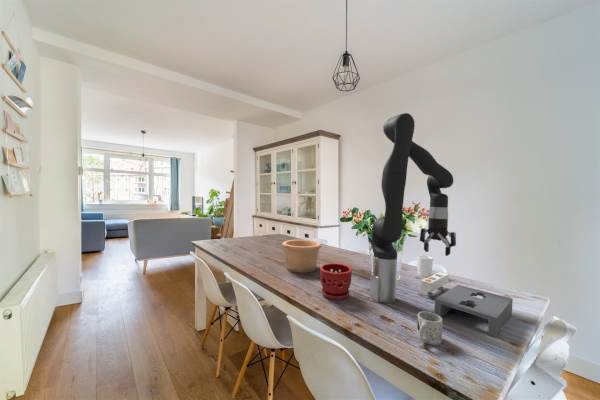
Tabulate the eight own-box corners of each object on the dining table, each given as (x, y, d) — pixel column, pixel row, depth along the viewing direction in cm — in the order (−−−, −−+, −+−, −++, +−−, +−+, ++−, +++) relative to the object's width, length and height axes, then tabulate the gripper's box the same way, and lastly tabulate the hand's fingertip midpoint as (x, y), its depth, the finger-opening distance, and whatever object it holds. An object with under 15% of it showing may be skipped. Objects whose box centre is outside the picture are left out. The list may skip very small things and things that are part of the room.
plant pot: (315, 290, 113) (316, 263, 112) (343, 289, 115) (344, 262, 115) (324, 303, 100) (325, 272, 100) (356, 301, 103) (357, 271, 102)
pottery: (321, 275, 134) (322, 247, 134) (279, 273, 135) (280, 246, 134) (319, 263, 156) (320, 240, 156) (283, 262, 156) (283, 239, 156)
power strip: (430, 299, 107) (431, 281, 107) (420, 296, 110) (421, 279, 110) (447, 288, 120) (448, 273, 120) (438, 286, 123) (439, 271, 123)
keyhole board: (495, 337, 79) (496, 318, 79) (434, 315, 92) (434, 298, 92) (511, 314, 95) (512, 298, 95) (457, 298, 108) (457, 284, 108)
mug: (422, 330, 82) (423, 309, 82) (444, 339, 77) (445, 317, 77) (408, 341, 75) (409, 319, 75) (432, 352, 70) (433, 328, 70)
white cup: (413, 272, 144) (414, 255, 143) (426, 272, 144) (427, 255, 144) (421, 277, 136) (422, 258, 135) (435, 277, 136) (436, 258, 136)
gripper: (418, 216, 117) (416, 251, 117) (452, 219, 106) (451, 258, 107) (425, 215, 122) (423, 249, 122) (459, 218, 111) (457, 255, 112)
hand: (436, 253), depth 115 cm, fingers open, 8 cm apart
